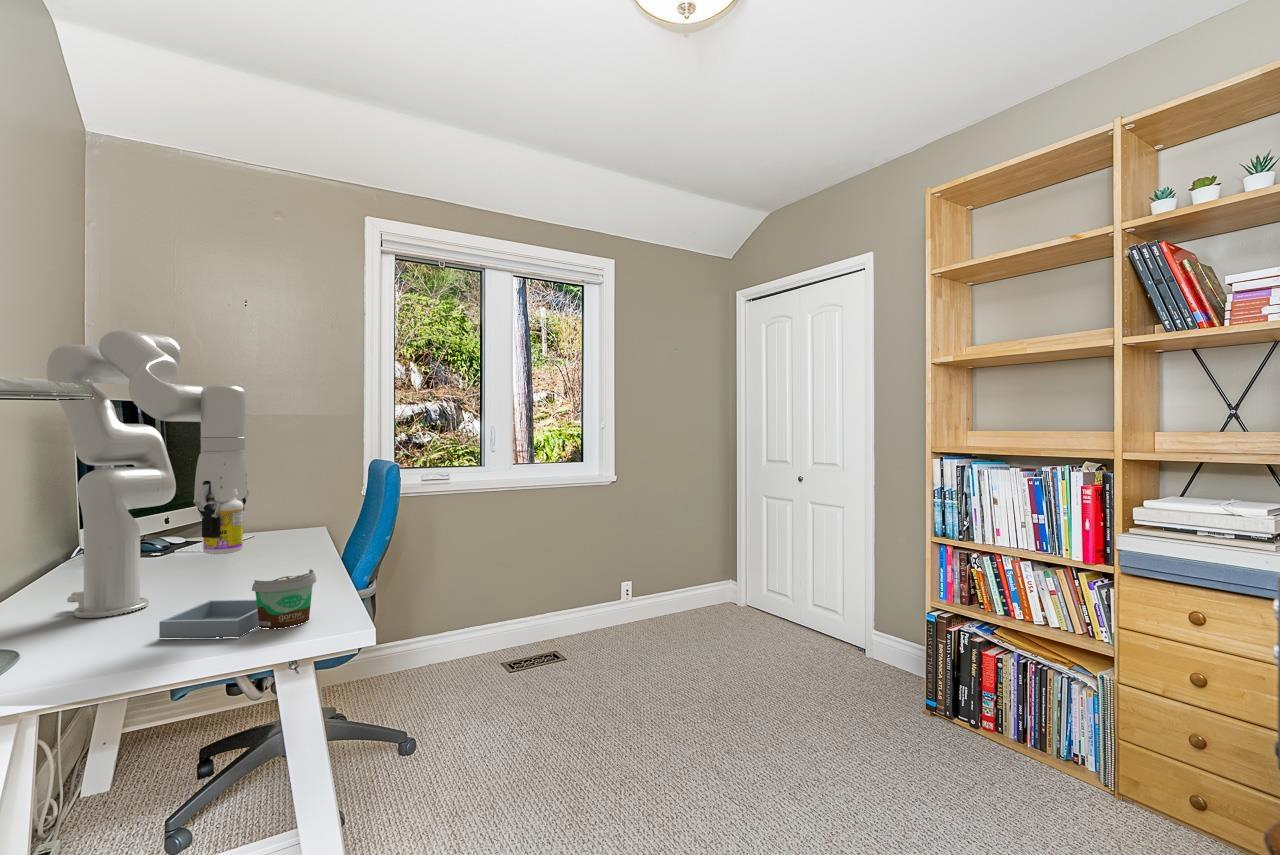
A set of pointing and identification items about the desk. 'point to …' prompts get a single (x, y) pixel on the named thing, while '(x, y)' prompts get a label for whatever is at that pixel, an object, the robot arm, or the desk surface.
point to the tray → (212, 620)
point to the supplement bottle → (227, 528)
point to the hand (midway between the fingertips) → (223, 533)
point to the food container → (284, 600)
